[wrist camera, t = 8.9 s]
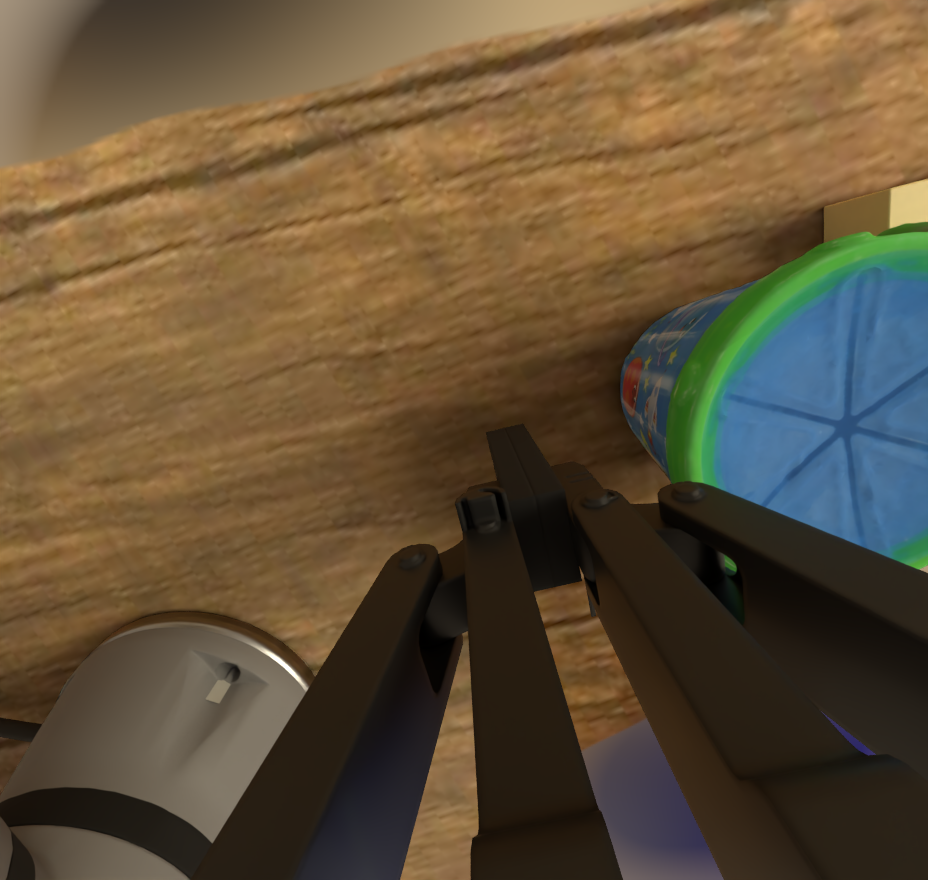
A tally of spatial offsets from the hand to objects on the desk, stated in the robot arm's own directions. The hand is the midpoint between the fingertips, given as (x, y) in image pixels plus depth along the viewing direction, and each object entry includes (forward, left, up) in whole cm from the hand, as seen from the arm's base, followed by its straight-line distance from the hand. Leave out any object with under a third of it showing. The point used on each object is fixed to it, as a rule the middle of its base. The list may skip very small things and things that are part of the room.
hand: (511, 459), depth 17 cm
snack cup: (+10, 0, -6) cm, 11 cm away
